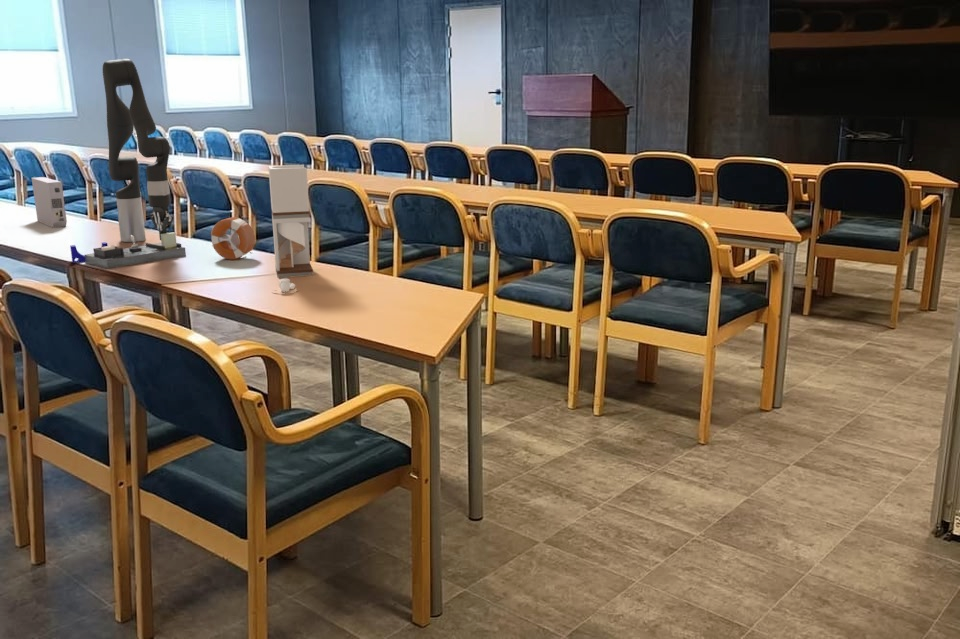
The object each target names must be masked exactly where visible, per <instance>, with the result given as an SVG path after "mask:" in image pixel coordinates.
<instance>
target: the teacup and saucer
mask: <svg viewBox="0 0 960 639" xmlns="http://www.w3.org/2000/svg"><path fill="white" fill-rule="evenodd" d="M278 281H279V283H278V286H279V289H281V290H280V291H281V292H282V291H283V292H282V293H286V292H285V291H289V292H290V290H289V289H294V288H295V289H296V283H293V282H290V281H291V280H290V278H280V279H278Z"/></svg>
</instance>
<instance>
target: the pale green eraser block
mask: <svg viewBox="0 0 960 639" xmlns="http://www.w3.org/2000/svg"><path fill="white" fill-rule="evenodd" d="M160 241H161V242H160V243H162V246H165V248H169V247H175V246H177V244H176V243H177V237H176V232H174V231H173V232H167V233H165V234H161V240H160Z"/></svg>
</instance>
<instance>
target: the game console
mask: <svg viewBox="0 0 960 639" xmlns="http://www.w3.org/2000/svg"><path fill="white" fill-rule="evenodd" d="M31 182H32V184H31V185H32V191H33V197H34V205H35V211H36V212H35V213H36V219H37V222H39V223H42V224H44V225H46V226H49V227H51V228H60V227H61V228H62V226H63V227H67V223H68V221H67V215H66V214H67V212H66V206H65V200H64V192H63V190H64V189H63V184H62V182H63V181H60V180H56V179H51V178H48V177H46V176H39V177H31Z"/></svg>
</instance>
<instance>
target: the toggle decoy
mask: <svg viewBox="0 0 960 639" xmlns="http://www.w3.org/2000/svg"><path fill="white" fill-rule="evenodd" d="M130 238H131V241H132V242H131V243H132V245H131V244H130V248H131V247H132V248H135V247H139V246H140V245H139V244H138V243H137V242H135V239H134V236H133V235H131V236H130Z"/></svg>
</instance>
